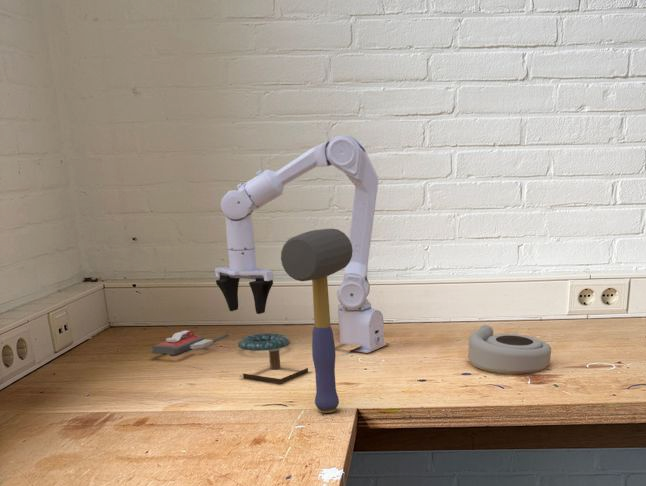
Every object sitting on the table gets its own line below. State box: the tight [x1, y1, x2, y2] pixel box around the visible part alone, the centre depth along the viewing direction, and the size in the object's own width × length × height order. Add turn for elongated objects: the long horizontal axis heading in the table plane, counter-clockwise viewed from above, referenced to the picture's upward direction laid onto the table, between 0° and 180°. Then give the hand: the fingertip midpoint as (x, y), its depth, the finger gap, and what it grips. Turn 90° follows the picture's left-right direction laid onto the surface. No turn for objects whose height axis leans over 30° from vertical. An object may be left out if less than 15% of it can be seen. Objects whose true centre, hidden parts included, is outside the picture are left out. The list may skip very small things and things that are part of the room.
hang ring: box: [237, 332, 291, 352], centre depth 176 cm, size 11×11×3 cm
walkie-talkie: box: [151, 330, 229, 357], centre depth 177 cm, size 9×4×20 cm
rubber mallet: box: [280, 228, 353, 414], centre depth 130 cm, size 12×8×30 cm, turn 157°
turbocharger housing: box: [467, 324, 552, 375], centre depth 159 cm, size 17×6×15 cm
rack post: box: [242, 348, 309, 385], centre depth 156 cm, size 9×9×5 cm
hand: (247, 311), depth 175 cm, fingers open, 7 cm apart
